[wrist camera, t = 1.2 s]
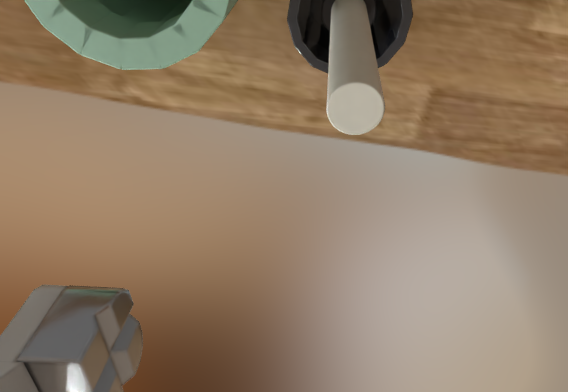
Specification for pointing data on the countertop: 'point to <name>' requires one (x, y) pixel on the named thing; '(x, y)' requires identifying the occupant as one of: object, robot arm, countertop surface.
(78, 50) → the jar
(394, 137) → the countertop surface
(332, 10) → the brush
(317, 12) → the holder
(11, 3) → the countertop surface
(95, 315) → the robot arm
